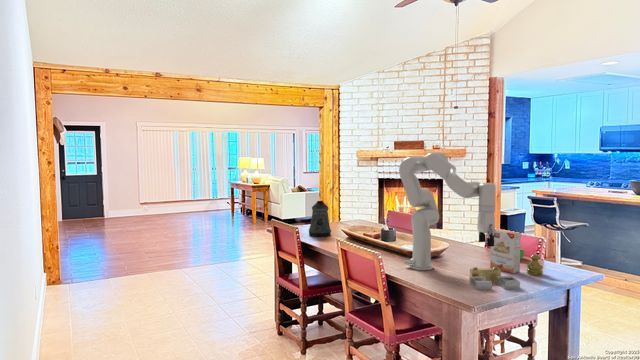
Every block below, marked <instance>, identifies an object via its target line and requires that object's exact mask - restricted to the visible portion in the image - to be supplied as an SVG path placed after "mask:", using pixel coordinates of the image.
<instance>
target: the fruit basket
mask: <svg viewBox="0 0 640 360" xmlns="http://www.w3.org/2000/svg"><path fill="white" fill-rule="evenodd" d="M521 243H522V242H521ZM521 243H520V260H522V259H523V257H524V255H525V253H526V250H524V249H522V245H521Z"/></svg>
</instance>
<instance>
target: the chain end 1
mask: <svg viewBox="0 0 640 360" xmlns="http://www.w3.org/2000/svg"><path fill="white" fill-rule="evenodd" d="M468 282H469V283H468V284H469V285H470V286H471V287H472V288H473V289H475V290H476V291H486V290H487V291H489V290H491V291H492V290H493V282H491V281H486V278H485V277H470V276H469V277H468Z"/></svg>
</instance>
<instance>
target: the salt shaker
mask: <svg viewBox="0 0 640 360" xmlns="http://www.w3.org/2000/svg"><path fill="white" fill-rule="evenodd" d="M529 258H530V259H531V261H529V263H527V264H526V273H527V275H530V276H534V277H538V276H539V277H540V276H543V274H544V270H543V269H544V265H542V264H541V263H540V262H539V260H540V259H541V258H542V257H541V256H540V255H538V254H536V253H535V254H532V255H530V256H529Z"/></svg>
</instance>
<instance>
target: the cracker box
mask: <svg viewBox="0 0 640 360" xmlns="http://www.w3.org/2000/svg"><path fill="white" fill-rule="evenodd" d="M495 230H496V231H495V238H494V246H490V260H489V261H490V262H489V265H490V266H489V268H493V267H498V268H499V269H501V272H505V273H509V274H516V273H520V271H521V270H520V269H521V259H520V243H522V242H521V241H522V240H521V239H522V236H521V235H522V232H516V231H512V230H506V229H501V228H495Z"/></svg>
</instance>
